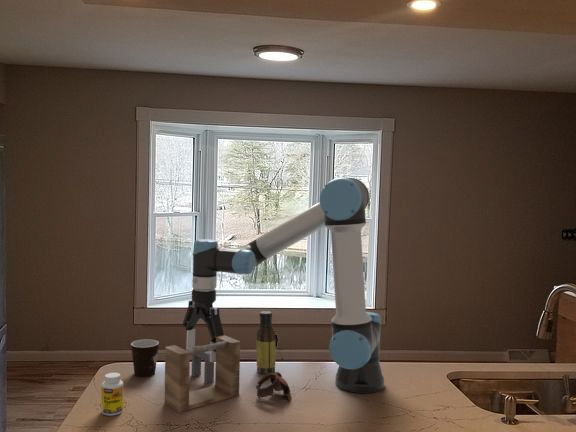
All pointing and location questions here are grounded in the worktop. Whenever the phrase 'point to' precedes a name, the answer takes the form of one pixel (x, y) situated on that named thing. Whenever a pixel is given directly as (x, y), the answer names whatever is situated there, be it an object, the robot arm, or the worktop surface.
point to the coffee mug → (144, 357)
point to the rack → (180, 369)
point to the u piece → (208, 366)
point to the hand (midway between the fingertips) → (201, 355)
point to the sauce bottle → (265, 344)
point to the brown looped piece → (273, 385)
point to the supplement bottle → (112, 395)
